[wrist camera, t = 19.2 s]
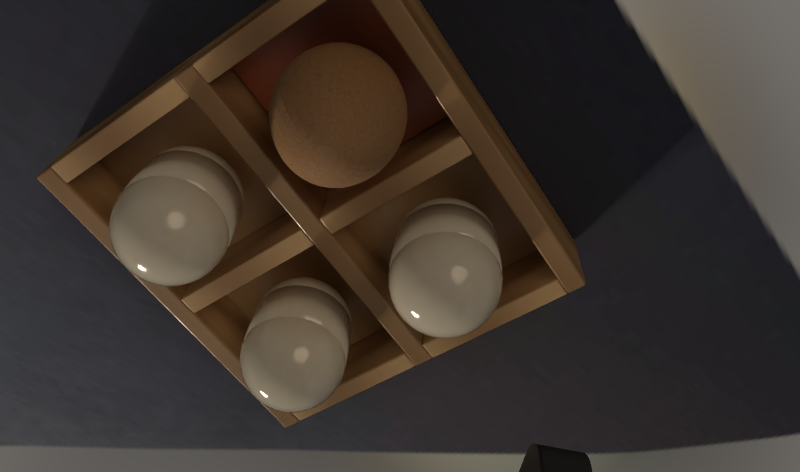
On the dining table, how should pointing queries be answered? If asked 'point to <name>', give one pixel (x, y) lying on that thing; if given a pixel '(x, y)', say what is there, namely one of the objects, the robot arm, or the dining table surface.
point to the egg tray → (320, 206)
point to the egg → (337, 114)
